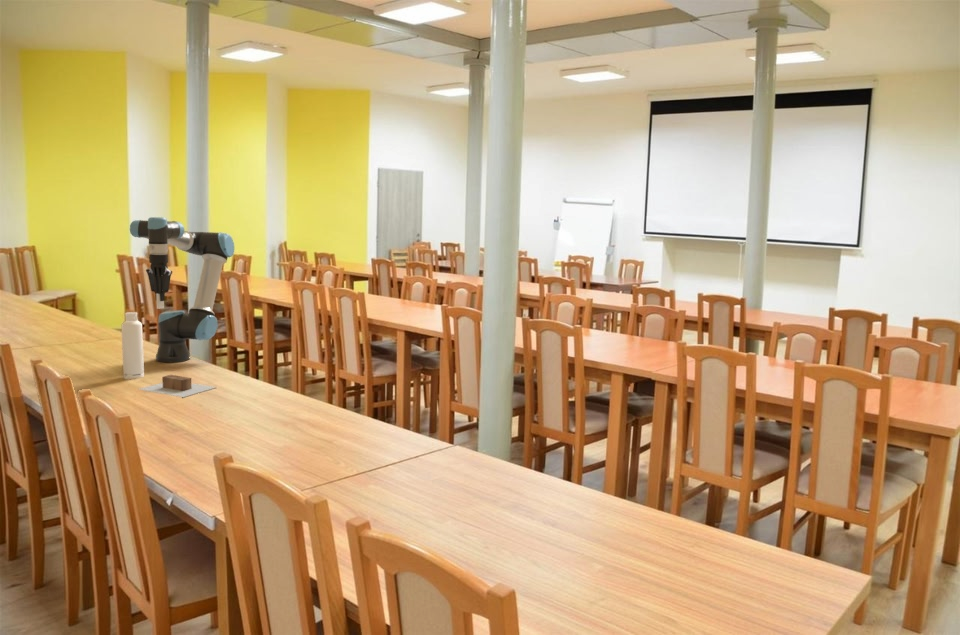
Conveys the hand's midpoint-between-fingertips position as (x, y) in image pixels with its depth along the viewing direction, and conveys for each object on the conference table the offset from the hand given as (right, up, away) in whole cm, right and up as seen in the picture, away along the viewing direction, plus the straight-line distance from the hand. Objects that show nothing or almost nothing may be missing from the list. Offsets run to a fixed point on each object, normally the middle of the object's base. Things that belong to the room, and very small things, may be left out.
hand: (160, 308), depth 325 cm
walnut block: (+10, -30, -17) cm, 36 cm away
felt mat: (+15, -33, -19) cm, 41 cm away
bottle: (-11, -30, -1) cm, 32 cm away
